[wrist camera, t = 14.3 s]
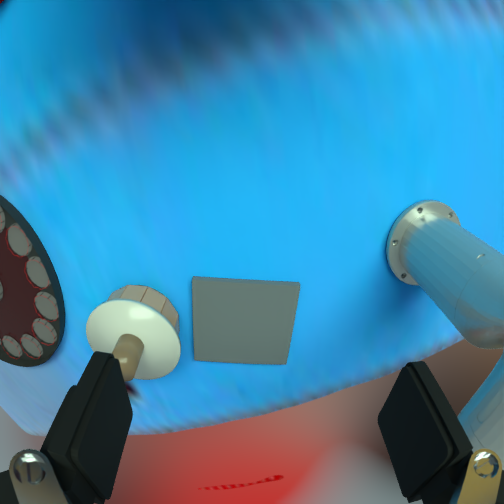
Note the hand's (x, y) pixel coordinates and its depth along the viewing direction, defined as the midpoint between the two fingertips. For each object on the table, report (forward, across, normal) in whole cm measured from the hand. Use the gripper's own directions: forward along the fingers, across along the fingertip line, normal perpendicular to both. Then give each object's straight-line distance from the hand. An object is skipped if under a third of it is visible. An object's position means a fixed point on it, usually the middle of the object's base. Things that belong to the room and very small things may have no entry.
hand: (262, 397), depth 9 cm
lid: (+24, +14, +19) cm, 34 cm away
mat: (+30, 0, +19) cm, 36 cm away
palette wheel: (+31, +45, +17) cm, 57 cm away
